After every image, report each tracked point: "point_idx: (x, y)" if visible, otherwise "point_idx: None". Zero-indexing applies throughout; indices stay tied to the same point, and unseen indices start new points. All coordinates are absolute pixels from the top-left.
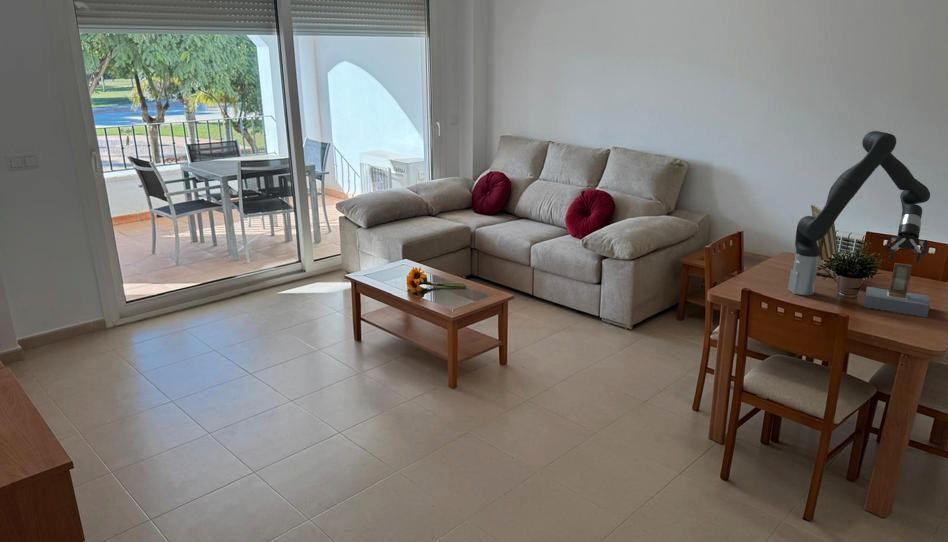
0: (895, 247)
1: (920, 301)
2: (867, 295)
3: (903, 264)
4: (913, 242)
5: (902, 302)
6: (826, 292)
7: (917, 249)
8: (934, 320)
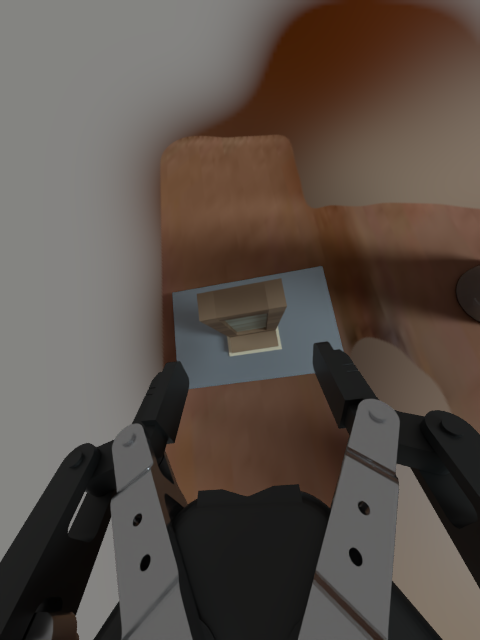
0: (357, 434)
1: (193, 313)
2: (318, 271)
3: (239, 301)
4: (144, 607)
5: (231, 283)
6: (435, 345)
7: (137, 464)
8: None
